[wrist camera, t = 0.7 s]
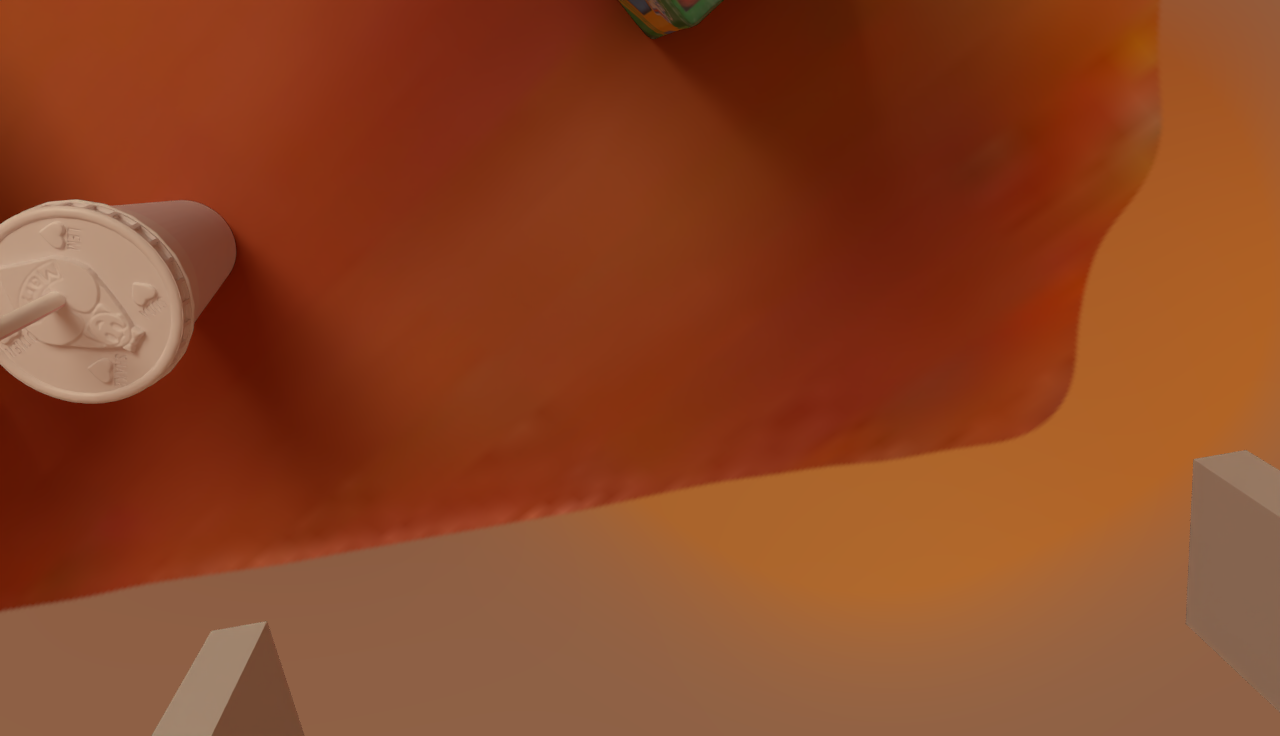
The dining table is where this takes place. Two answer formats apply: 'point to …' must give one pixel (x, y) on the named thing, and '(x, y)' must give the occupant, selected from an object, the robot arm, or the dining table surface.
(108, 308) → the smoothie
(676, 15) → the chalk box
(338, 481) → the dining table surface
